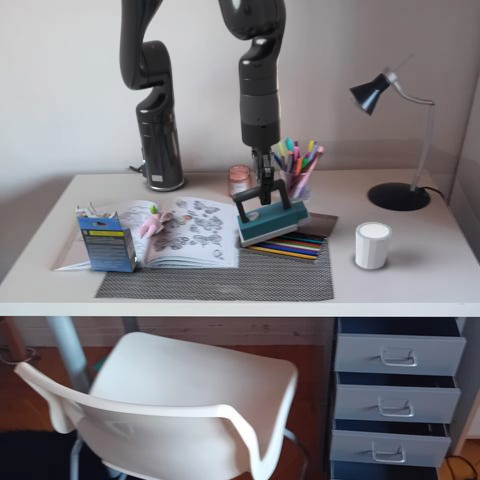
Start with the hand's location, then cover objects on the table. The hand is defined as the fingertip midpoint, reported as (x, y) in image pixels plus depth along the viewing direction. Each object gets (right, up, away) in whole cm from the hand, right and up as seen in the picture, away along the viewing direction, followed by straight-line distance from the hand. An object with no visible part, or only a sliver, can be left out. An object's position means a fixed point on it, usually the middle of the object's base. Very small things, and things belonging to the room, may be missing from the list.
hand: (264, 201), depth 103 cm
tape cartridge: (-31, -14, 0) cm, 34 cm away
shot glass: (+21, -13, -4) cm, 25 cm away
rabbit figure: (-24, -5, +10) cm, 27 cm away
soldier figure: (-38, -2, +15) cm, 41 cm away
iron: (+2, -5, +4) cm, 7 cm away
